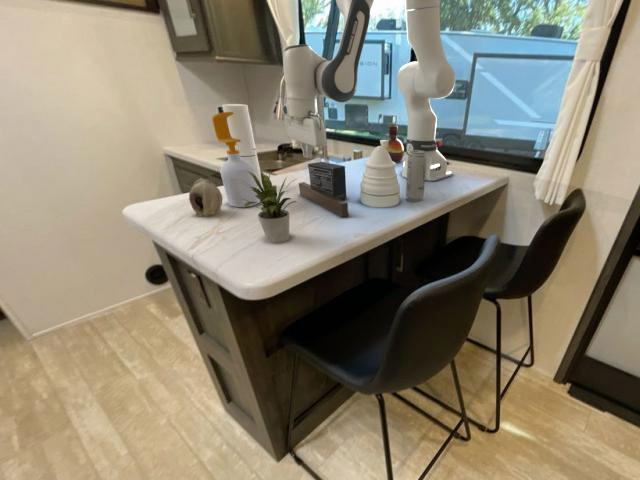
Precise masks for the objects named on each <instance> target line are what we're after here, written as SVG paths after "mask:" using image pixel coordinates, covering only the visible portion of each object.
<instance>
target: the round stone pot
mask: <svg viewBox="0 0 640 480" xmlns="http://www.w3.org/2000/svg"><path fill="white" fill-rule="evenodd" d="M188 200H189V203H190V205H191V208H192V210H193V211H194V212H195V214H194V215H195V216H197V217H212V216H215V215H218V214H219V213H220V211H221V208H222V206H223V195H222V191H221V190H220V188H218V187H217V185H215V184H214V183H213V182H211V180H210V179H204V178H202V177H201V178H199V179H197V180H195V181H194V182H193V185H192V187H191V189H190V191H189V193H188Z"/></svg>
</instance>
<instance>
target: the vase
mask: <svg viewBox="0 0 640 480" xmlns="http://www.w3.org/2000/svg"><path fill="white" fill-rule="evenodd" d="M398 129H399V127H398V125H396V124H390V125H388V138H386V139H385V140H388V145H387V146H386V147H385V149H386V150H387V151H388V153H389V155H390V157H391V159H392V161H393V162H395V163H396V164H397V163H400V162H402V160H403V158H404V155H405V145H404V144H403V141H401V140H400V139H399V138H398Z"/></svg>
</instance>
